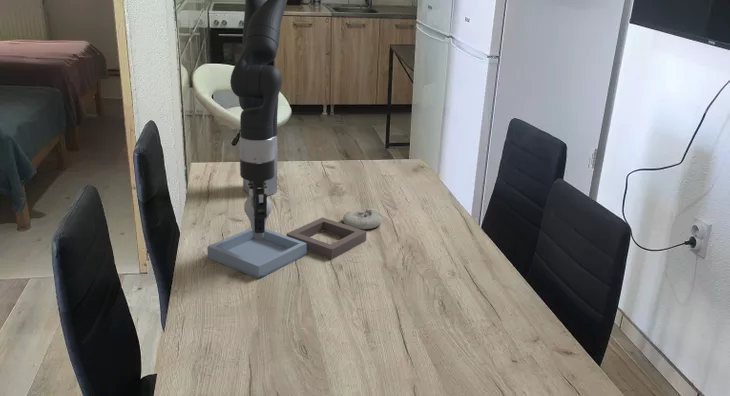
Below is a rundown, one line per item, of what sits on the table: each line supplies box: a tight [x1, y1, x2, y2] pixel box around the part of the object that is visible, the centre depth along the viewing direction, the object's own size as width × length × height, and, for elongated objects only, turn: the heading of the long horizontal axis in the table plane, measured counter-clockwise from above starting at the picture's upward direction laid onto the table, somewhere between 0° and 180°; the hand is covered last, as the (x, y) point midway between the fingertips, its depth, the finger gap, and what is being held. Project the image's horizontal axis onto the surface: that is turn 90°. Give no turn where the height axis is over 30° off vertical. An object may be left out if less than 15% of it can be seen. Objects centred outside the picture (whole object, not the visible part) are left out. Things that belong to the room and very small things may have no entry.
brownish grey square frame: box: [286, 217, 367, 260], centre depth 160 cm, size 14×14×2 cm
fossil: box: [342, 207, 383, 230], centre depth 173 cm, size 11×4×10 cm
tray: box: [206, 227, 308, 280], centre depth 151 cm, size 16×16×3 cm
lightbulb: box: [243, 195, 273, 240], centre depth 148 cm, size 6×6×11 cm
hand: (257, 226), depth 148 cm, fingers closed on lightbulb, 5 cm apart
